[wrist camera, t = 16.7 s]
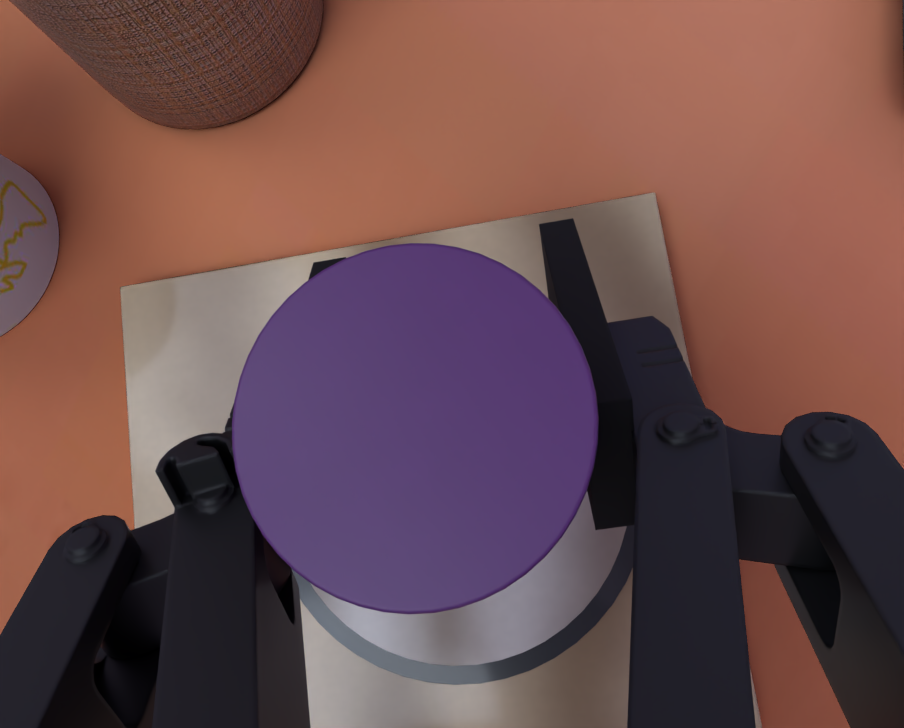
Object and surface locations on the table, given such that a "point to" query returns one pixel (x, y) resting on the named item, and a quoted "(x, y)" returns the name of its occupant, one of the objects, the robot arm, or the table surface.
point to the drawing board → (448, 632)
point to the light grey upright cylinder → (24, 243)
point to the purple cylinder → (415, 428)
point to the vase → (185, 52)
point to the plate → (903, 24)
